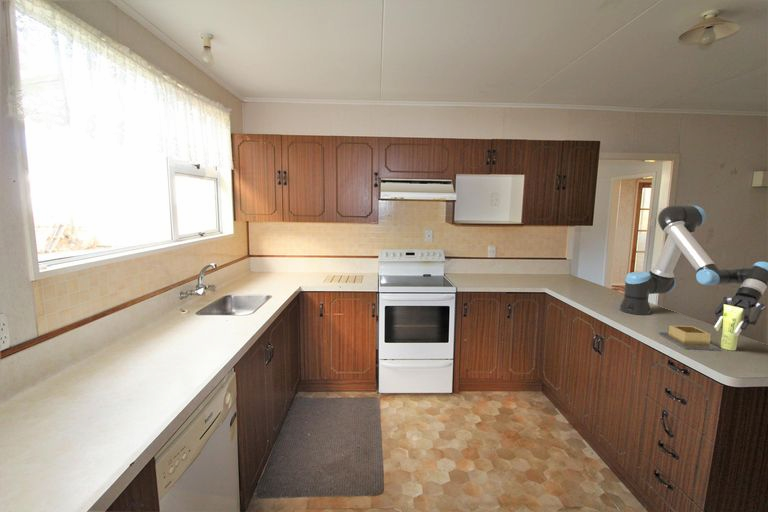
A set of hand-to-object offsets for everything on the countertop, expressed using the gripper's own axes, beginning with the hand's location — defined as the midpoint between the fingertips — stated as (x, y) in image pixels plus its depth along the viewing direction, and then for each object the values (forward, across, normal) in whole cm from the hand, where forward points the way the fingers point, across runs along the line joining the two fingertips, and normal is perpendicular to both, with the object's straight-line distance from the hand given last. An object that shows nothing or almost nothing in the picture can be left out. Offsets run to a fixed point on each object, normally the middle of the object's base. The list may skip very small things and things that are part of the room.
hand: (725, 331), depth 151 cm
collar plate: (+9, +11, -3) cm, 15 cm away
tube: (+4, 0, -9) cm, 9 cm away
